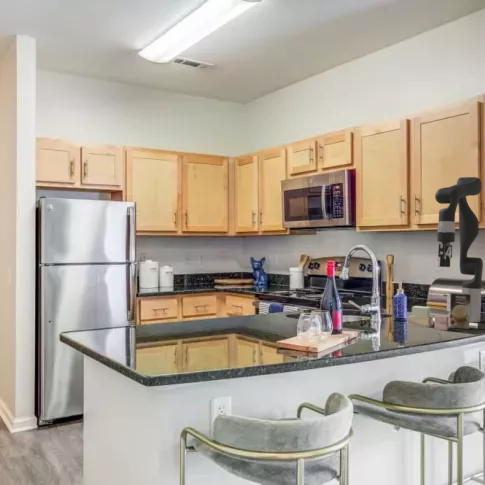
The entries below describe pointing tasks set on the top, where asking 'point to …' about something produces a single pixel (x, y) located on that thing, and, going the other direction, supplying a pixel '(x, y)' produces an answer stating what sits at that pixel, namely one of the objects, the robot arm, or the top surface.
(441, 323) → the rose block
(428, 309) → the tower mid
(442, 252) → the robot arm
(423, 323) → the tower base
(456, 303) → the coffee box
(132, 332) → the top surface
